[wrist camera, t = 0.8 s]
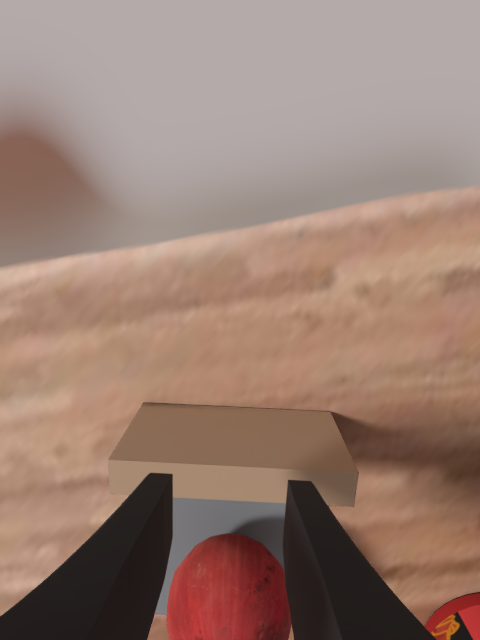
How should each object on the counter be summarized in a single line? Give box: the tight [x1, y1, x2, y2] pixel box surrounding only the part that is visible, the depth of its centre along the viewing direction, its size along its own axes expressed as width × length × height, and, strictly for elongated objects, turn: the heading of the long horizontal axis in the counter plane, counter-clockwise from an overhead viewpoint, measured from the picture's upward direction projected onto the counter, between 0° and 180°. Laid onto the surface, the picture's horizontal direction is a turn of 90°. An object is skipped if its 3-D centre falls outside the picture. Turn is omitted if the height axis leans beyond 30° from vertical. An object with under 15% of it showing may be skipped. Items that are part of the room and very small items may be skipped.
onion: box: [166, 533, 292, 640], centre depth 17 cm, size 6×6×8 cm
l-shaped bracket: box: [108, 403, 359, 615], centre depth 18 cm, size 14×10×5 cm
